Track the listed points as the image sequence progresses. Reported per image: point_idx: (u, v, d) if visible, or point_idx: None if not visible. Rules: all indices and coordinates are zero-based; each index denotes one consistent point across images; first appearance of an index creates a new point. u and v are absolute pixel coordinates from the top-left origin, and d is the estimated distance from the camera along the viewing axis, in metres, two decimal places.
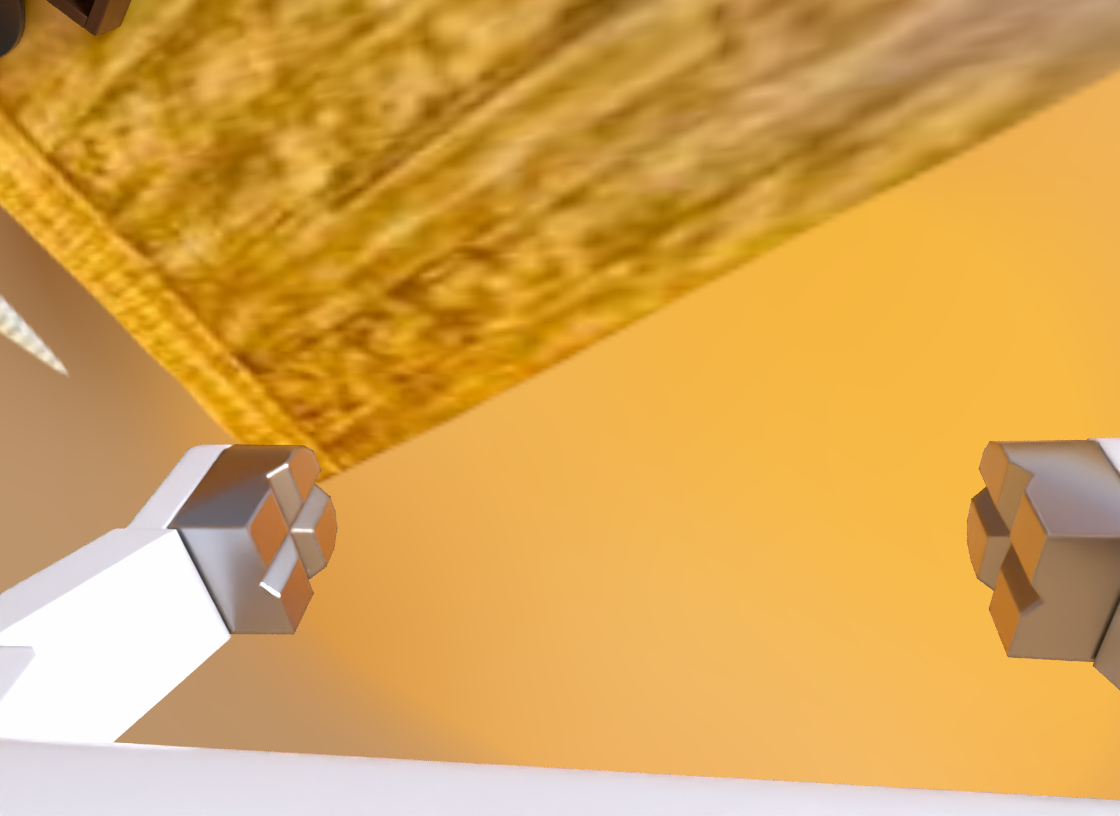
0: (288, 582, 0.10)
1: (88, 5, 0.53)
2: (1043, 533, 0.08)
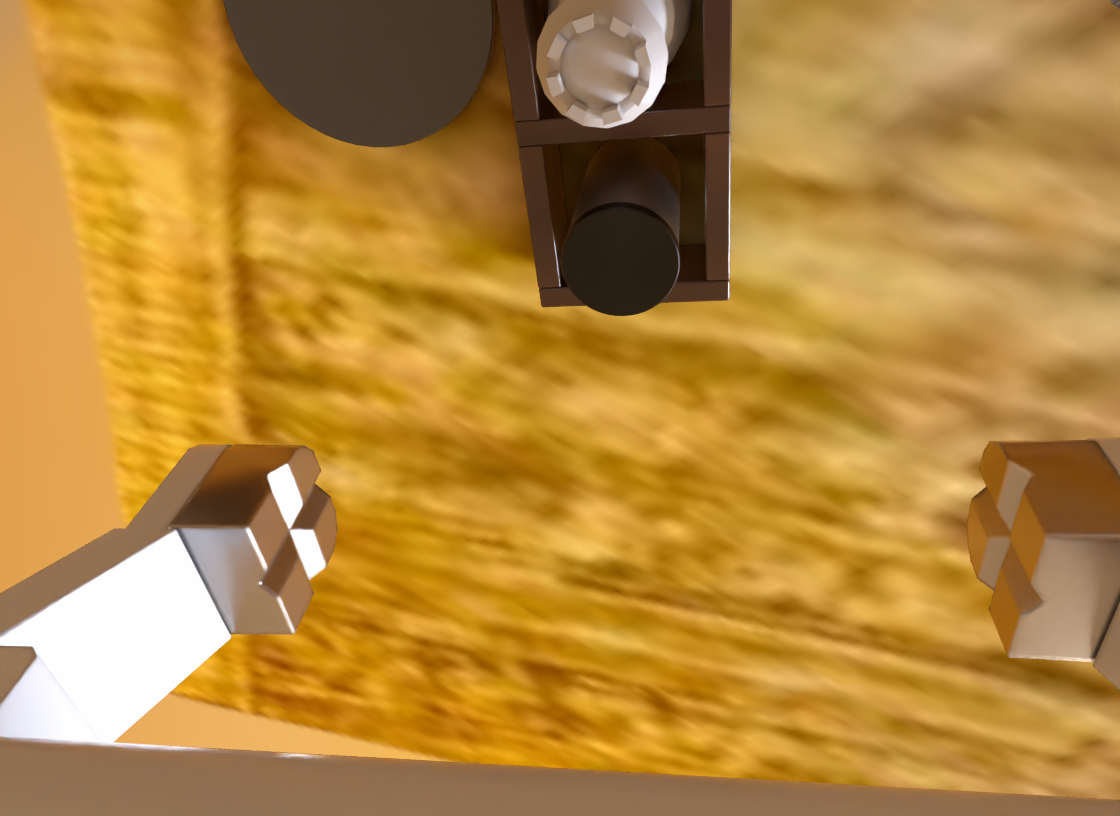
0: (288, 582, 0.10)
1: None
2: (1043, 533, 0.08)
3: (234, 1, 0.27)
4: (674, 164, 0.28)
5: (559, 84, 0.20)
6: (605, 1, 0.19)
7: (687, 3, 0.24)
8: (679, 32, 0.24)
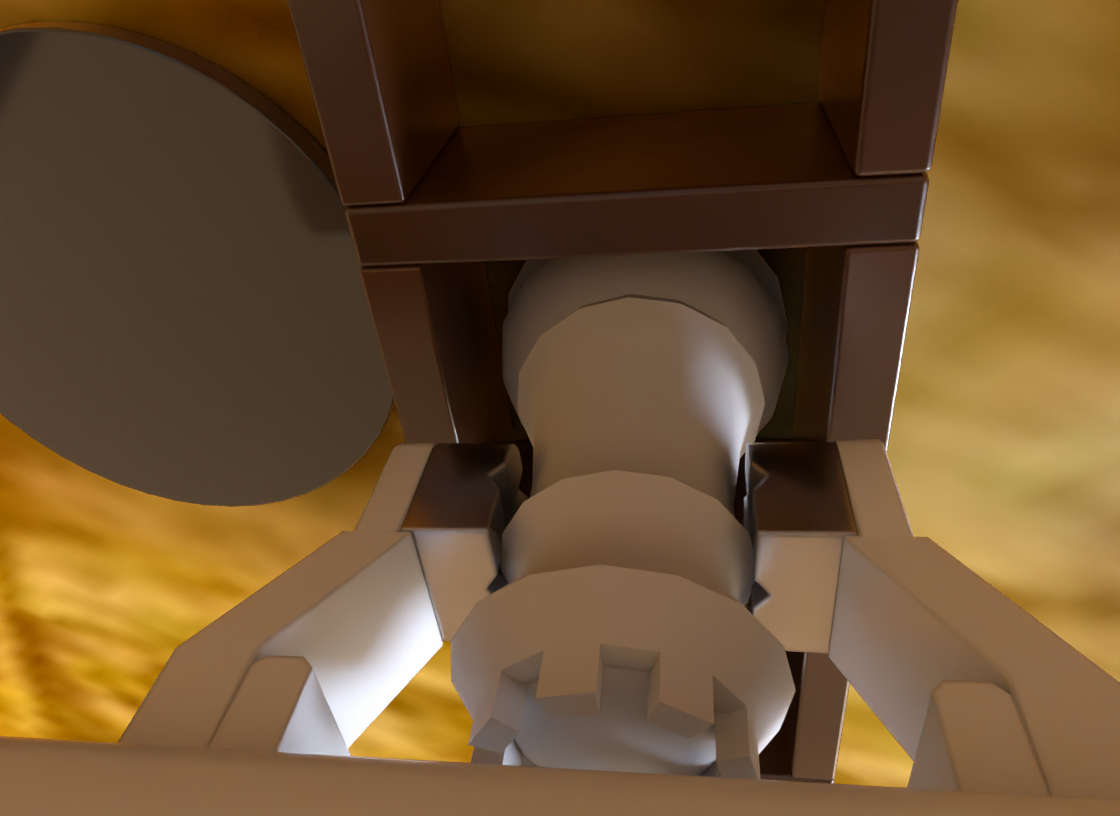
0: None
1: None
2: (756, 530, 0.08)
3: None
4: None
5: None
6: (633, 615, 0.07)
7: (785, 363, 0.12)
8: (766, 414, 0.12)
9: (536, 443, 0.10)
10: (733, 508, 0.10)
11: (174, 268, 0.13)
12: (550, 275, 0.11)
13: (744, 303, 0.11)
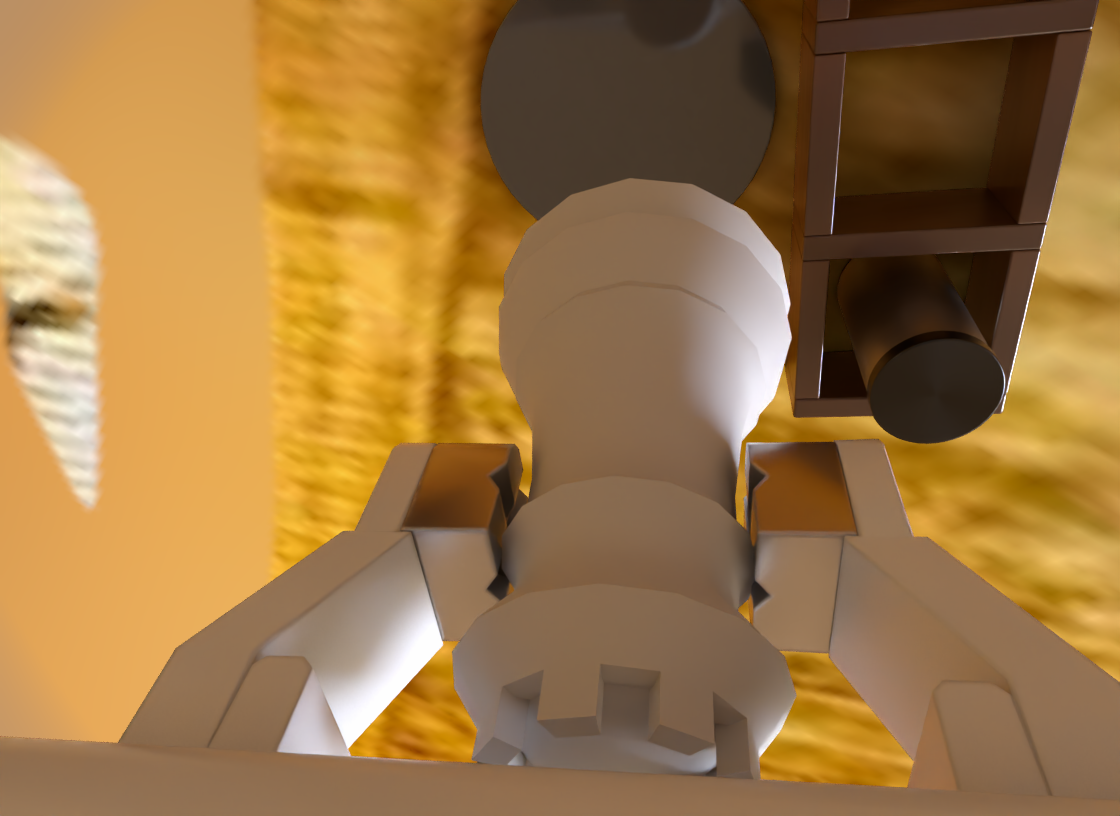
0: (508, 586, 0.09)
1: None
2: (757, 530, 0.08)
3: (492, 105, 0.25)
4: None
5: None
6: (633, 635, 0.07)
7: (787, 344, 0.12)
8: (768, 395, 0.12)
9: (534, 437, 0.10)
10: (734, 502, 0.09)
11: (653, 86, 0.25)
12: (546, 260, 0.11)
13: (744, 286, 0.11)
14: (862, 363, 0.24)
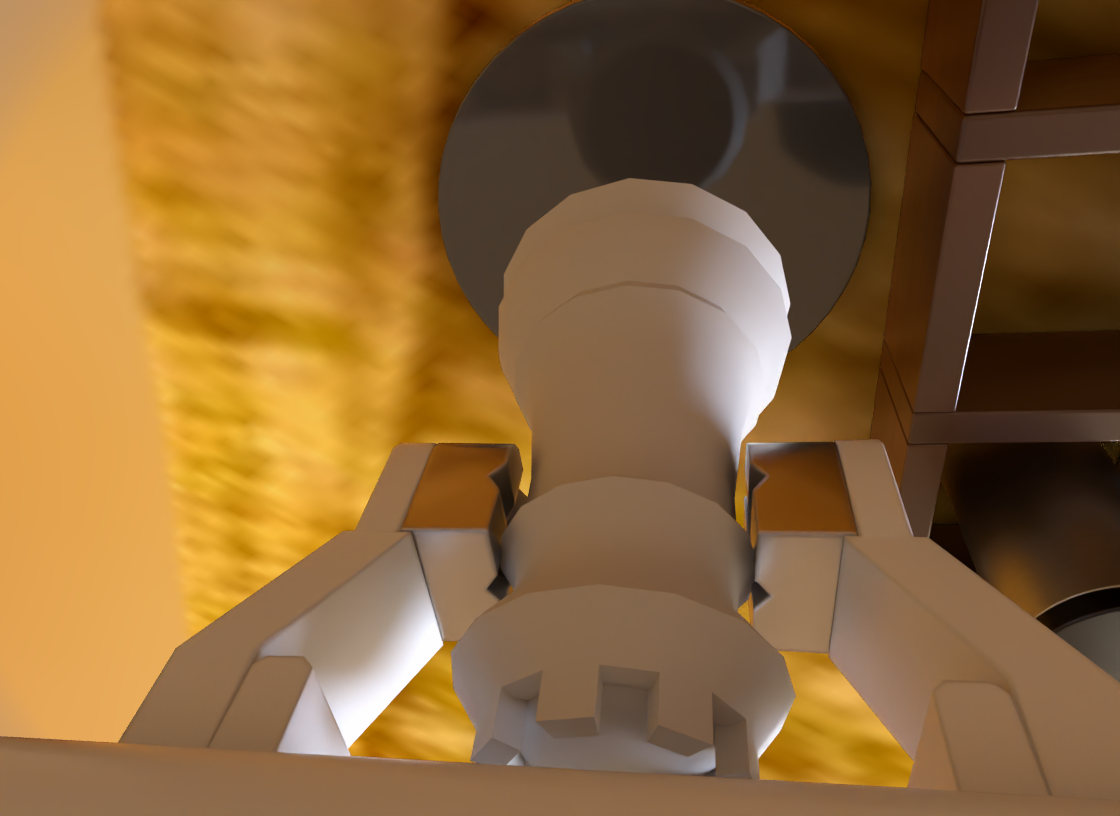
0: (508, 587, 0.09)
1: None
2: (756, 530, 0.08)
3: (455, 208, 0.18)
4: None
5: None
6: (632, 635, 0.07)
7: (787, 344, 0.12)
8: (767, 396, 0.12)
9: (533, 438, 0.10)
10: (734, 502, 0.09)
11: None
12: (545, 260, 0.11)
13: (745, 286, 0.11)
14: None
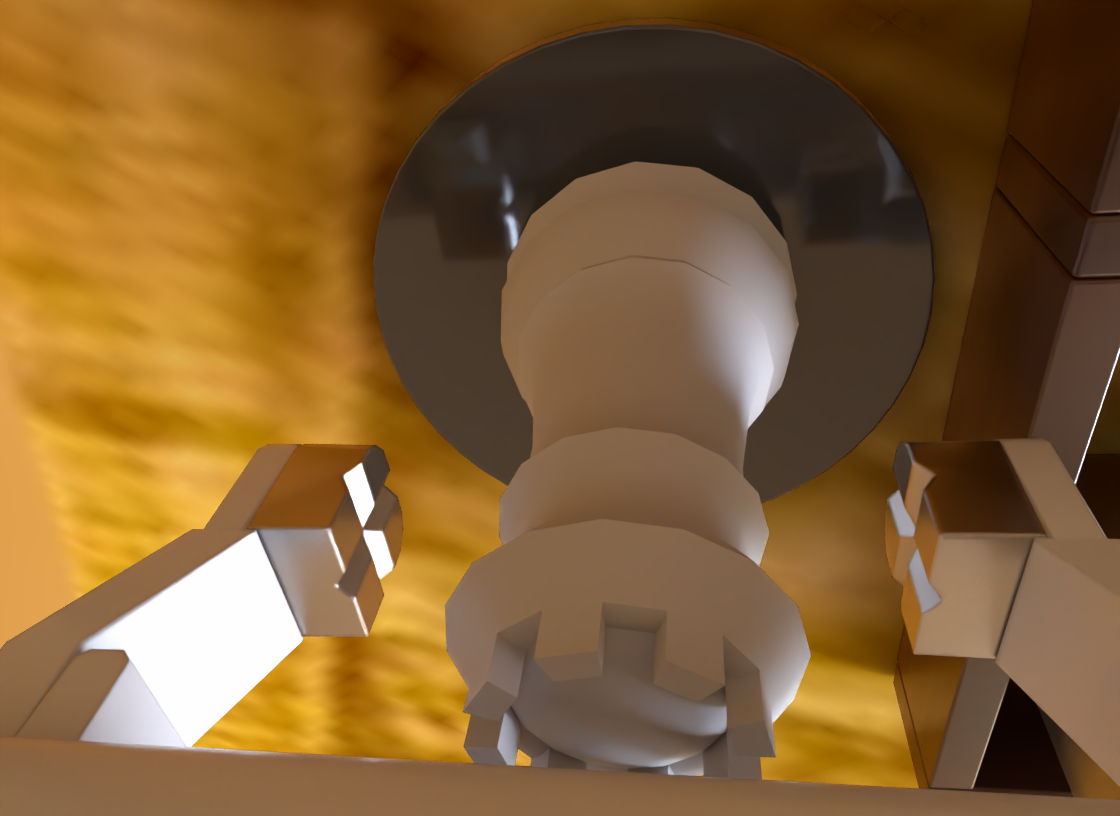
0: (363, 584, 0.10)
1: None
2: (937, 531, 0.08)
3: (396, 298, 0.14)
4: None
5: (504, 760, 0.07)
6: (638, 571, 0.06)
7: (794, 329, 0.11)
8: (775, 383, 0.12)
9: (535, 408, 0.10)
10: (742, 472, 0.09)
11: None
12: (550, 238, 0.11)
13: (751, 264, 0.11)
14: None
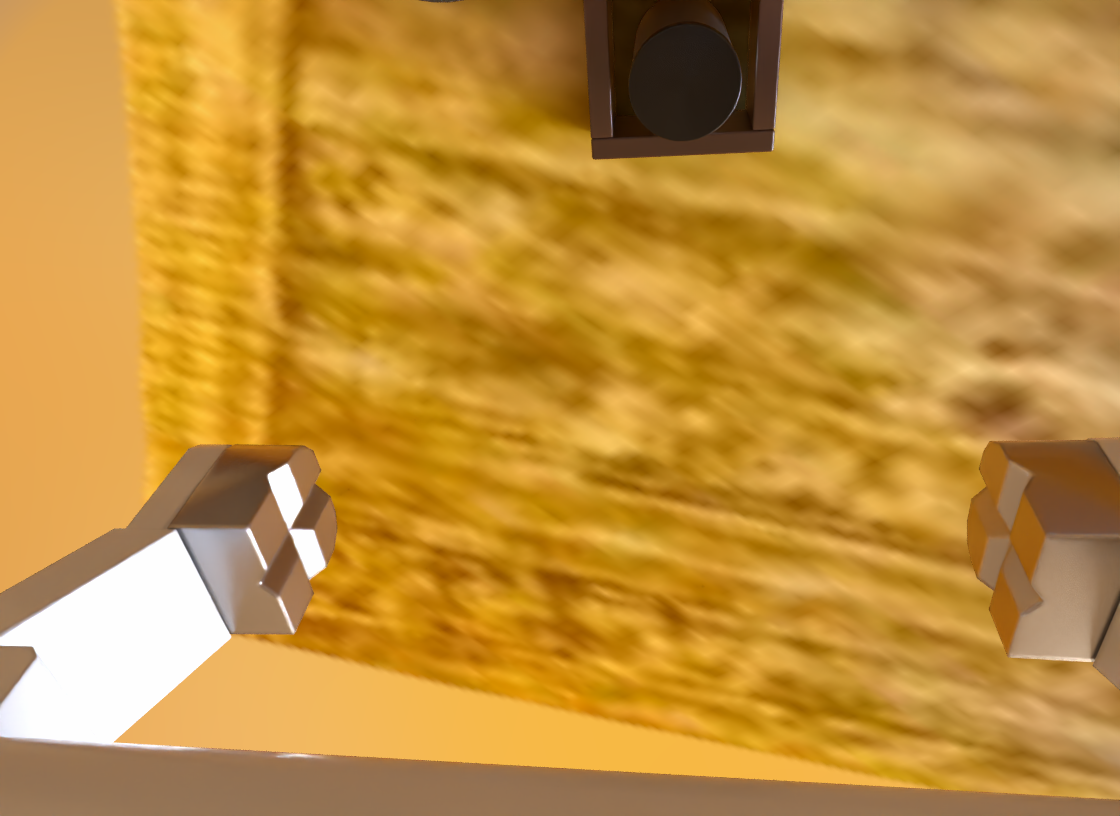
0: (288, 582, 0.10)
1: (613, 106, 0.31)
2: (1043, 533, 0.08)
3: None
4: None
5: None
6: None
7: None
8: None
9: None
10: None
11: None
12: None
13: None
14: None
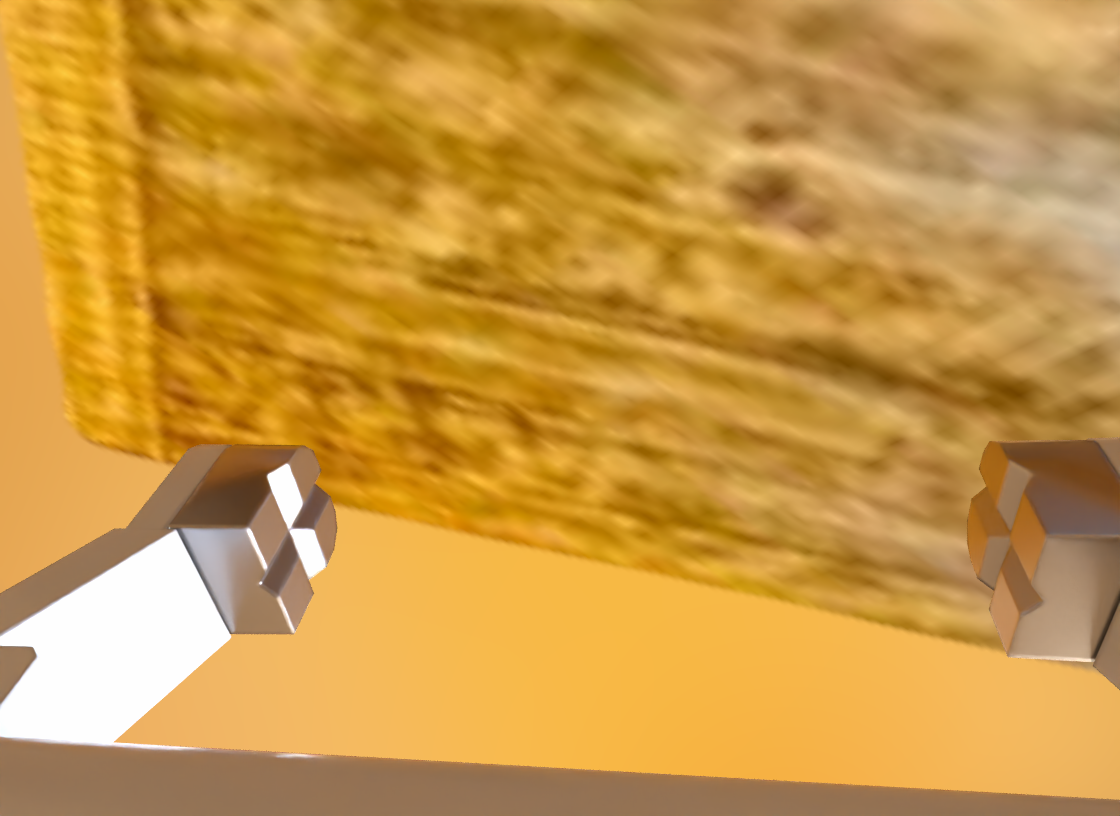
0: (288, 582, 0.10)
1: None
2: (1043, 533, 0.08)
3: None
4: None
5: None
6: None
7: None
8: None
9: None
10: None
11: None
12: None
13: None
14: None
